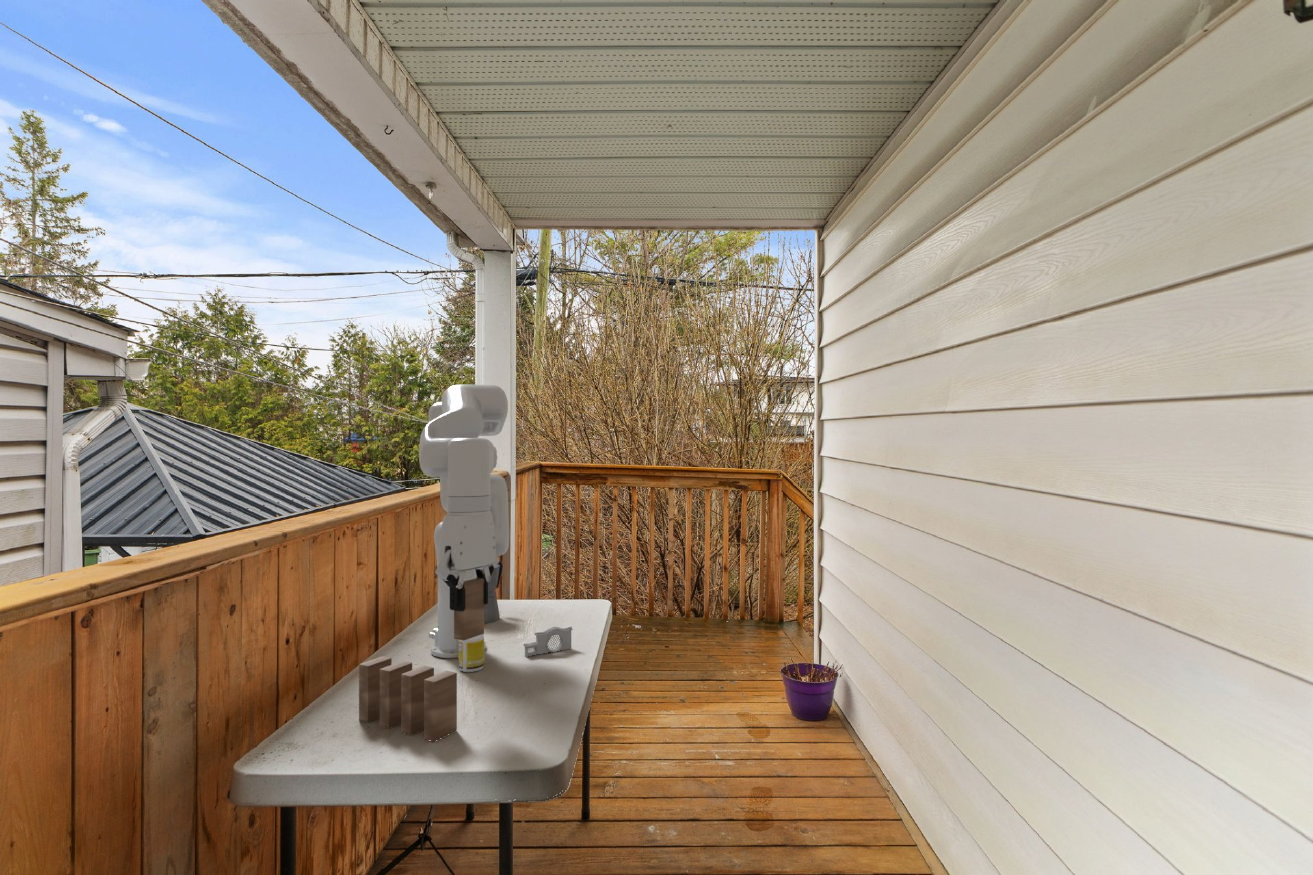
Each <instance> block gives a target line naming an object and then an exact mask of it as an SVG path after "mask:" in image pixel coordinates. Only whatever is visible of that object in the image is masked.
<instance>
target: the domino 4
mask: <svg viewBox="0 0 1313 875" xmlns="http://www.w3.org/2000/svg"><path fill="white" fill-rule="evenodd" d="M457 679H458V673H457V672H456V671H455V672H454V671H449V670H444V671H442V672H440V673H437V674H434V676H432V677H429V678H427V679H424V730H423V740H424V739H426V740H431V741H432V742H431V743H433V742H435V741H436V740H439V739H440V738H443V737H444V736H446V737H448V736H449V735H448V734H450V735H452V734H453V733H452V732H454V733H456V732H457V731H458V723H457V722H458V719H457V718H458V713H457V712H458V708H457V707H458V698H457V697H458V694H457V693H458V690H457V689H458V680H457ZM456 730H457V731H456ZM455 731H456V732H455ZM451 733H452V734H451ZM447 735H448V736H447ZM444 738H445V737H444ZM444 738H443V739H444ZM426 740H425V741H426ZM439 741H440V740H439ZM435 743H436V742H435Z"/></svg>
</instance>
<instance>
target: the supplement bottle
mask: <svg viewBox="0 0 1313 875" xmlns="http://www.w3.org/2000/svg"><path fill="white" fill-rule="evenodd" d="M484 642H485V635H484V634H482V635H479V636H476V637H473V638H470V639H467V640H459V658H458V670H459V671H460V672H462V671H463V673H475V672H479V671H481V670H483V669H484V667H485V649H484ZM474 671H475V672H474Z"/></svg>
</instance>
